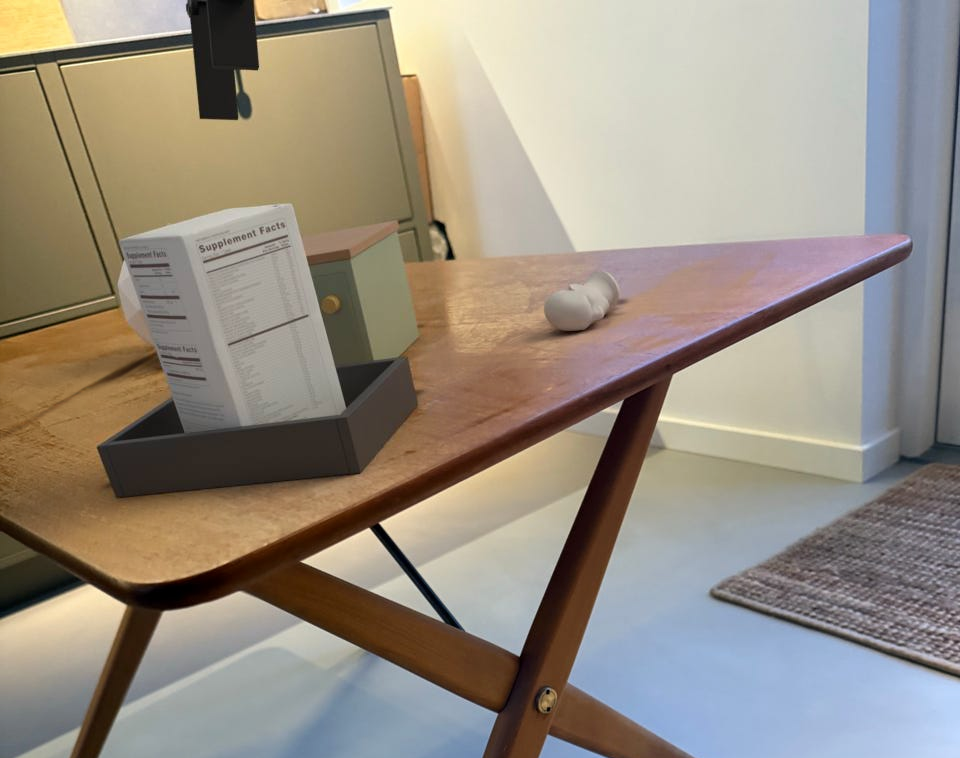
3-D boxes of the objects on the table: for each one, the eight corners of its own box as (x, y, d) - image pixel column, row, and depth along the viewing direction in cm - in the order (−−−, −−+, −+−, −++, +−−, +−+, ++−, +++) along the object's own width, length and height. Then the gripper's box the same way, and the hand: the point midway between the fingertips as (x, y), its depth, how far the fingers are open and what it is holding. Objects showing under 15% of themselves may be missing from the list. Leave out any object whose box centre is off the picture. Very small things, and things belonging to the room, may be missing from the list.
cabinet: (251, 397, 95) (214, 272, 90) (311, 351, 108) (281, 240, 103) (376, 381, 92) (345, 250, 87) (422, 335, 105) (397, 219, 99)
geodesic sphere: (72, 323, 116) (88, 207, 107) (159, 291, 127) (180, 183, 117) (175, 398, 115) (200, 288, 105) (254, 359, 125) (284, 255, 116)
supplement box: (289, 423, 85) (228, 207, 77) (357, 433, 79) (298, 199, 71) (190, 465, 80) (113, 237, 72) (254, 480, 73) (177, 232, 65)
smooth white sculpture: (572, 350, 93) (534, 329, 96) (634, 323, 97) (595, 304, 100) (575, 304, 90) (536, 285, 93) (639, 279, 94) (599, 261, 97)
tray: (115, 498, 76) (95, 446, 74) (203, 430, 88) (188, 385, 86) (360, 473, 70) (346, 416, 68) (418, 405, 83) (407, 355, 81)
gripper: (280, -422, 52) (312, 43, 58) (236, -181, 75) (262, 136, 81) (126, -450, 50) (174, 36, 56) (129, -193, 73) (163, 133, 79)
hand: (226, 96), depth 68 cm, fingers open, 13 cm apart
